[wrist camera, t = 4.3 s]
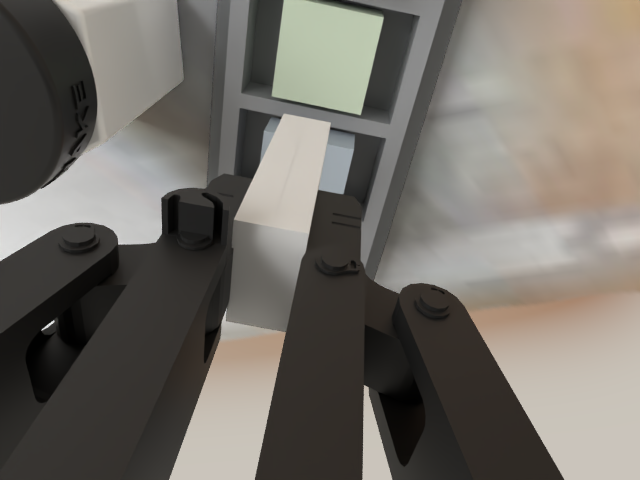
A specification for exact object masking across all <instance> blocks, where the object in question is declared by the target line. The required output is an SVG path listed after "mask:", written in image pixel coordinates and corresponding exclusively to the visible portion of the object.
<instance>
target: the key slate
mask: <svg viewBox="0 0 640 480" xmlns="http://www.w3.org/2000/svg"><path fill="white" fill-rule="evenodd" d="M280 121H281V119H279V118H274V117H271V119H270V121H269V122H268V124H267V126H266V128H265V130H264V135H263V143H262V151H261V159H260V163H261V161H262V159H263V157H264V154H265V152H266V150H267V148H268V146H269V144H270V142H271V140H272V138H273V135H274V133H275V131H276V129H277V127H278V125H279V123H280ZM354 141H355V134H350V133H346V132H341V131H336V130H331V129H330V131H329V136H328V142H327V147H326V152H325V158H324V163H323V169H322V174H321V179H320V185H319V190H322V191H327V192H333V193H338V194H343V193H344V189H345V185H346V181H347V177H348V172H349V168H350V164H351V160H352V156H353V152H354Z"/></svg>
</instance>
